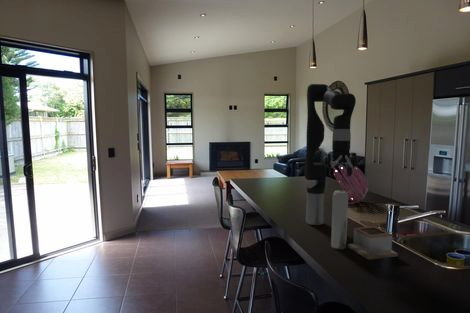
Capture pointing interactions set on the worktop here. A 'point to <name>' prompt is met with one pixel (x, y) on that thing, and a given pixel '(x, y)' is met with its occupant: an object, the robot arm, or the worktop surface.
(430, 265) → the worktop surface
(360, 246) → the sleeve
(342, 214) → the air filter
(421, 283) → the worktop surface
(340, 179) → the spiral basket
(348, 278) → the worktop surface
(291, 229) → the worktop surface
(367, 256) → the base board
